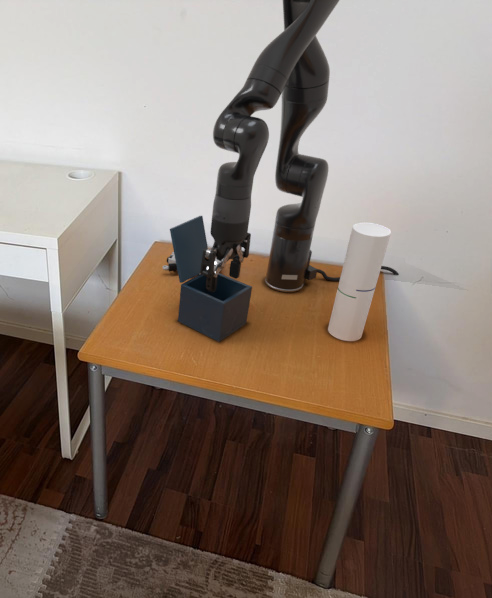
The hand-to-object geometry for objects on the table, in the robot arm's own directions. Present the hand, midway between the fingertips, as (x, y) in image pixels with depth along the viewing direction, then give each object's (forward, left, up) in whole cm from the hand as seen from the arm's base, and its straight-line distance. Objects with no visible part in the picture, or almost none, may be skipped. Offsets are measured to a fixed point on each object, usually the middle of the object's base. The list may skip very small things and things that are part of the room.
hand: (222, 283), depth 126 cm
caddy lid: (+2, -8, +5) cm, 10 cm away
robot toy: (-11, -24, -11) cm, 29 cm away
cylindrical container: (-23, +16, -11) cm, 30 cm away
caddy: (+1, -1, -11) cm, 11 cm away
